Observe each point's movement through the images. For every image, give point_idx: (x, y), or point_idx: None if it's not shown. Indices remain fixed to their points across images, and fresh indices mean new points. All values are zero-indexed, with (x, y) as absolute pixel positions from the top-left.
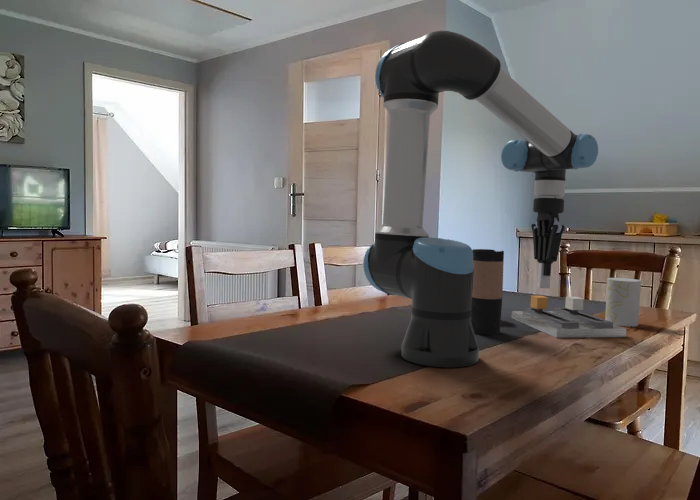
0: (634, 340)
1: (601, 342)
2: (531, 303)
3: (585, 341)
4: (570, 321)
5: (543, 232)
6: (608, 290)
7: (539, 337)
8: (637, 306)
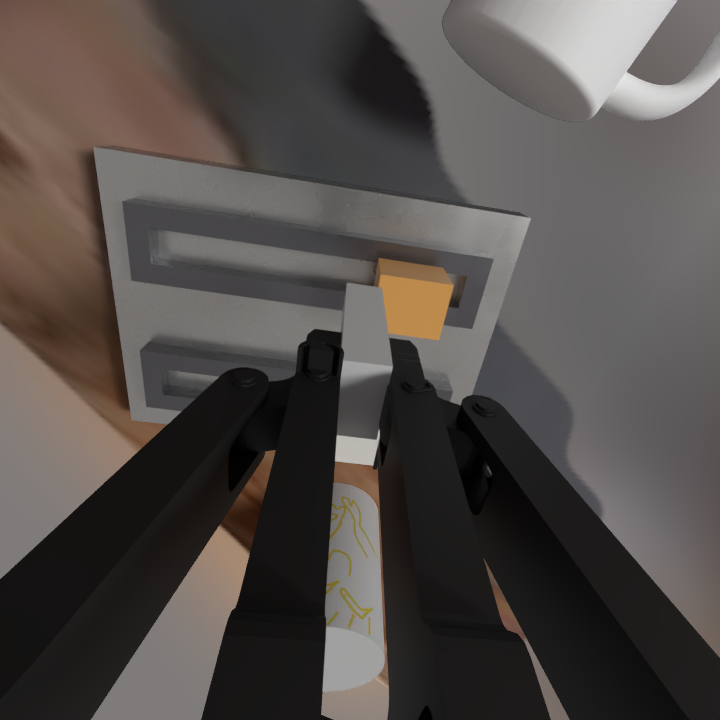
0: (96, 395)
1: (50, 273)
2: (436, 271)
3: (59, 224)
4: (162, 264)
5: (254, 701)
6: (341, 581)
7: (115, 63)
8: None
